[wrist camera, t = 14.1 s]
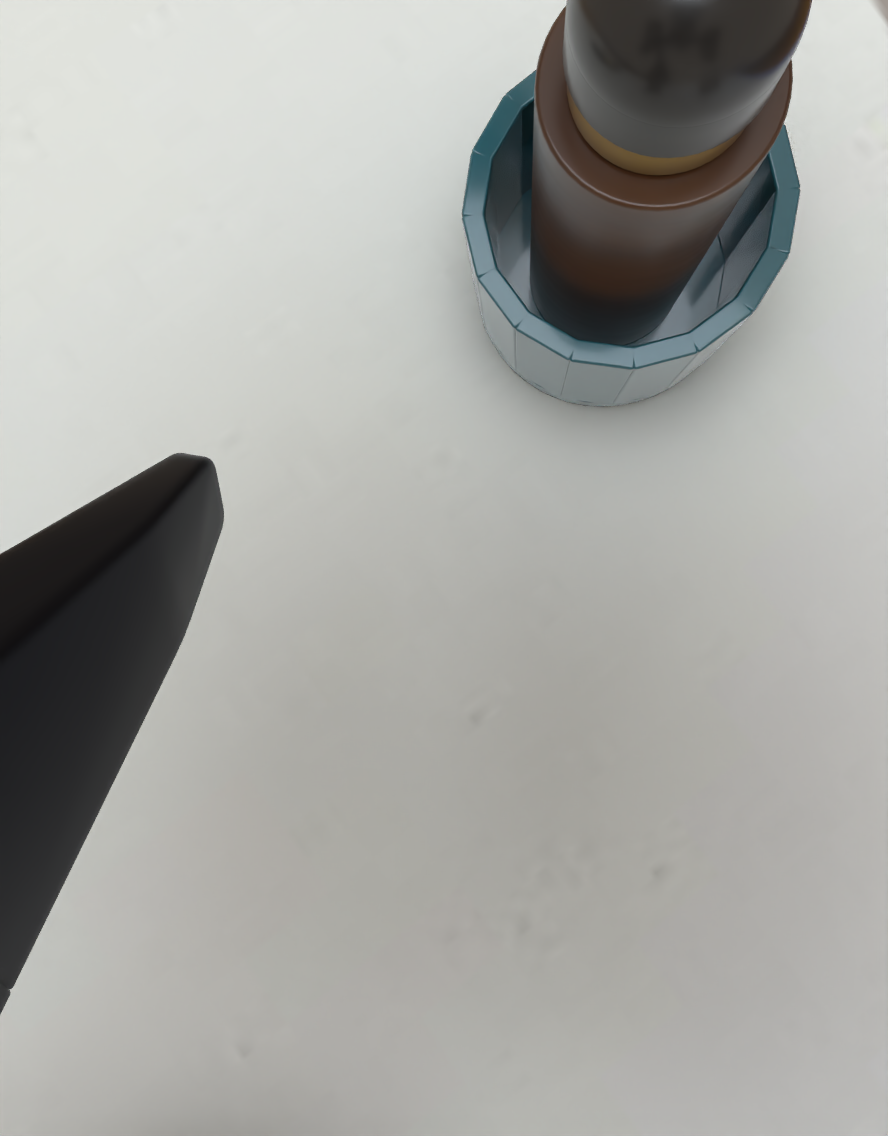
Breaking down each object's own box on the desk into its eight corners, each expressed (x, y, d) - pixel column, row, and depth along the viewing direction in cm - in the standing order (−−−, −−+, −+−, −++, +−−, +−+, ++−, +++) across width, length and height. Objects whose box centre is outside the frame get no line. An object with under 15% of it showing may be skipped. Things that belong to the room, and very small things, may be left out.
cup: (763, 369, 22) (833, 317, 17) (510, 434, 23) (506, 403, 18) (702, 117, 22) (754, -9, 17) (450, 189, 23) (430, 89, 18)
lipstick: (697, 325, 22) (930, 30, 9) (549, 365, 22) (583, 132, 10) (661, 178, 22) (847, -313, 9) (514, 220, 22) (503, -197, 10)
